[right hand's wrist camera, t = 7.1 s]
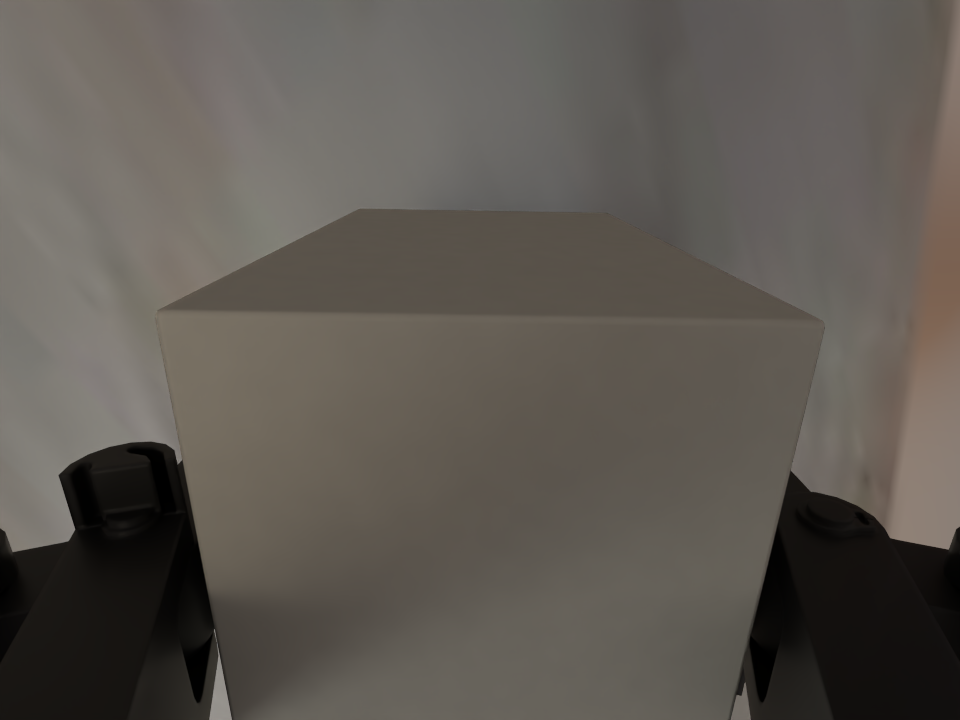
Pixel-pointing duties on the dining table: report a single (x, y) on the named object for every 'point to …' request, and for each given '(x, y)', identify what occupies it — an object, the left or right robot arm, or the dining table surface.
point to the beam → (485, 468)
